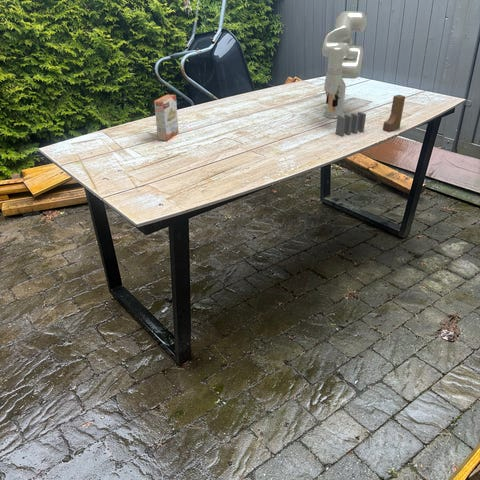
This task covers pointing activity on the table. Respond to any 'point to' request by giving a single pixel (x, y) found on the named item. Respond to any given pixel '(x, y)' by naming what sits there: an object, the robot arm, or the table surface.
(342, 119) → the domino
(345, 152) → the table surface
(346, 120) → the domino
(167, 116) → the cracker box
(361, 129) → the domino
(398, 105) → the wooden block
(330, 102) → the domino
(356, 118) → the domino
